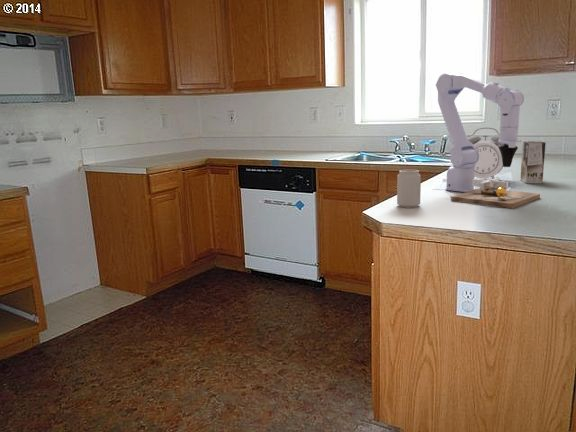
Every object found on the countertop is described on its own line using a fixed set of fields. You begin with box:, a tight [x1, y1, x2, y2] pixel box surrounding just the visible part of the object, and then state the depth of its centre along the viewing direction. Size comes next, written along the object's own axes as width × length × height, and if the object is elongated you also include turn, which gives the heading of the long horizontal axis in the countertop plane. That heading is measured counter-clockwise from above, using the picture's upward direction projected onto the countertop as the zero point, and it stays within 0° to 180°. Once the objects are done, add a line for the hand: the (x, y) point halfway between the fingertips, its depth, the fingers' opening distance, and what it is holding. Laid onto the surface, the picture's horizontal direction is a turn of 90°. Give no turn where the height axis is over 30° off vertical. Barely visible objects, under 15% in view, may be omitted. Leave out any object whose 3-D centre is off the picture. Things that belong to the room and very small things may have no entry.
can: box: [396, 169, 422, 209], centre depth 160 cm, size 8×8×12 cm
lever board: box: [450, 187, 541, 209], centre depth 166 cm, size 21×21×2 cm
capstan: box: [473, 177, 509, 197], centre depth 167 cm, size 15×15×4 cm
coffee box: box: [520, 140, 547, 184], centre depth 195 cm, size 9×6×16 cm
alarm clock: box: [467, 127, 504, 180], centre depth 203 cm, size 16×9×22 cm, turn 61°
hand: (506, 166), depth 169 cm, fingers closed
